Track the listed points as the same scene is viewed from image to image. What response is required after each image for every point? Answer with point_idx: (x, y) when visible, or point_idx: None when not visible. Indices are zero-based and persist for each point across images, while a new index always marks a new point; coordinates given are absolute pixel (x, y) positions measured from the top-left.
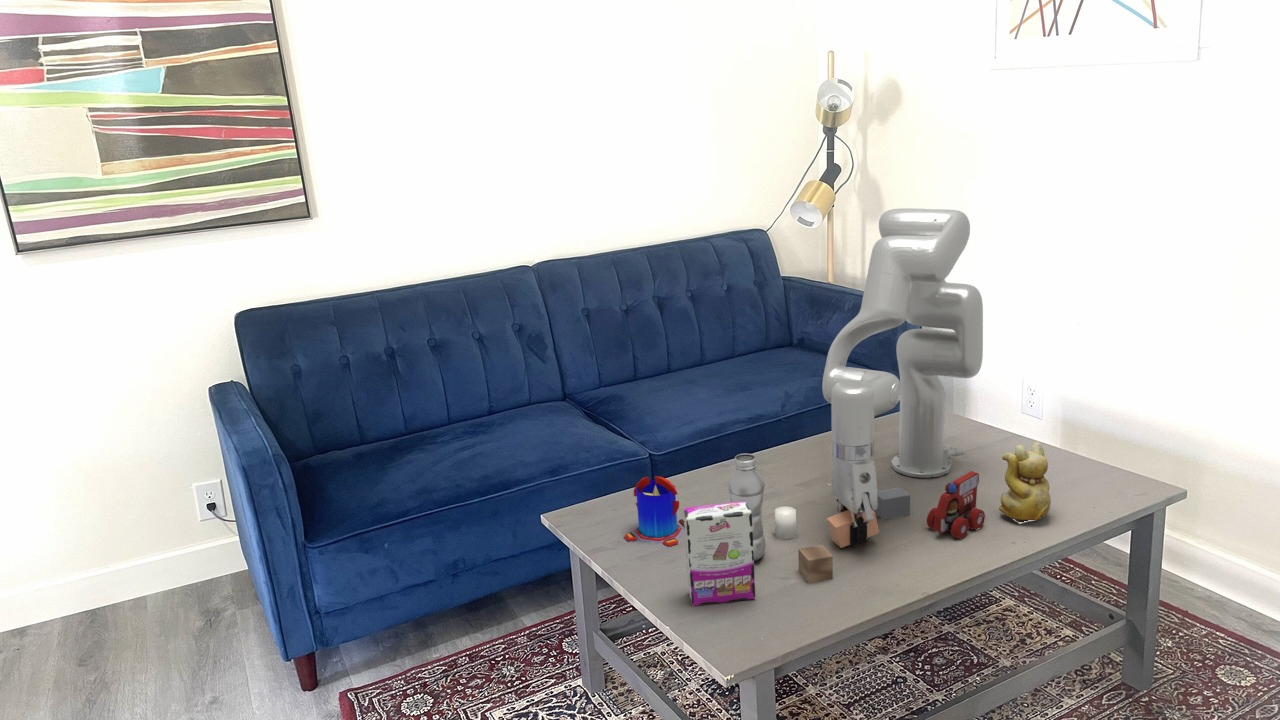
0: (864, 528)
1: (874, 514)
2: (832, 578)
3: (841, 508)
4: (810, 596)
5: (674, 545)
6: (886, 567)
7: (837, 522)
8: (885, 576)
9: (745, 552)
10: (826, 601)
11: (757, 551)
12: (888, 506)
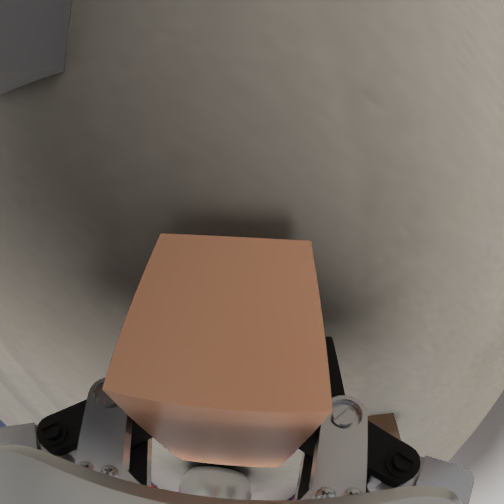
0: (344, 394)
1: (329, 392)
2: (393, 414)
3: (150, 460)
4: (406, 441)
5: (153, 484)
6: (459, 284)
7: (244, 463)
8: (482, 311)
9: None
10: (436, 426)
11: (251, 495)
12: (19, 35)
